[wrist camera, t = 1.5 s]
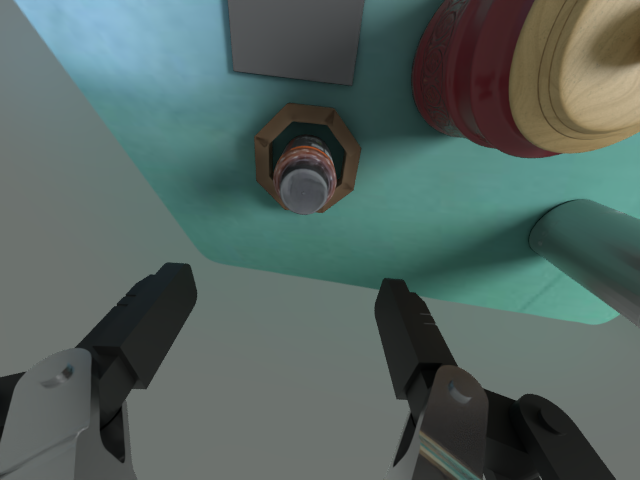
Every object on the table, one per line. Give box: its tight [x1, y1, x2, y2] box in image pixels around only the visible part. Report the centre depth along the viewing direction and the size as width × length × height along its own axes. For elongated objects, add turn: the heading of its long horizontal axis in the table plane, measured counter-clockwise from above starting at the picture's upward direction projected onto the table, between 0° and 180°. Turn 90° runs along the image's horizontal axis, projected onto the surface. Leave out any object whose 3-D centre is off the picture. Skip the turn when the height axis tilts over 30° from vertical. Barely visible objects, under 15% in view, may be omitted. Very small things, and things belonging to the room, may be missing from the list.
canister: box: [411, 0, 640, 158], centre depth 16 cm, size 13×13×18 cm
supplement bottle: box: [273, 134, 337, 215], centre depth 23 cm, size 6×6×11 cm
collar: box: [254, 103, 361, 213], centre depth 27 cm, size 12×12×2 cm
